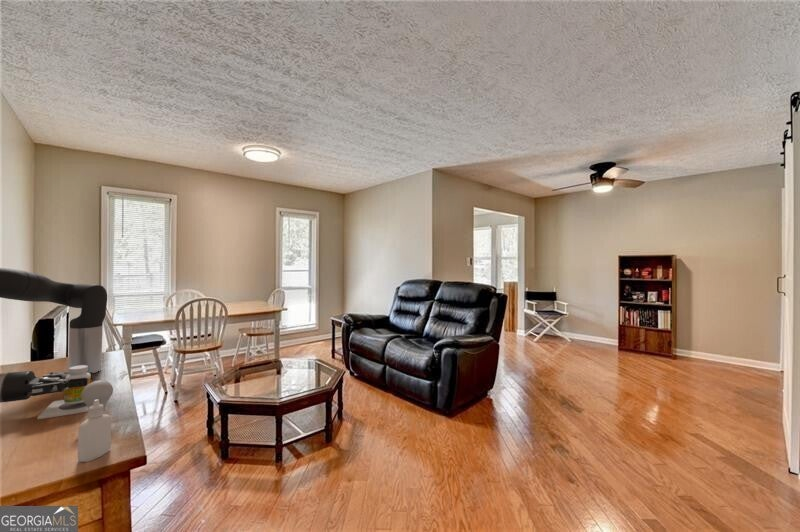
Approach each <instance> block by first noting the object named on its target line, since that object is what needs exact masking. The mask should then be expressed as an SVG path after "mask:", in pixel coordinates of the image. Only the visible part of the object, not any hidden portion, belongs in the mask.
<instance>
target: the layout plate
mask: <svg viewBox="0 0 800 532" xmlns="http://www.w3.org/2000/svg"><path fill="white" fill-rule="evenodd" d="M88 411H89V410H88V407H87V405H86V404H85V403H84V402H81V403H76V404H66V403H64V399H60V400H53V401H52V402H51V403H50V404H49V405H48V406H47V407H46V408H45V409H44V410H43V411H42V412H41V413H40V414H39V415H38V416H37V420H42V419H48V418H55V417H62V416H63V417H64V416H68V415H69V416H70V415H75V414H82V413H88Z"/></svg>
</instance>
